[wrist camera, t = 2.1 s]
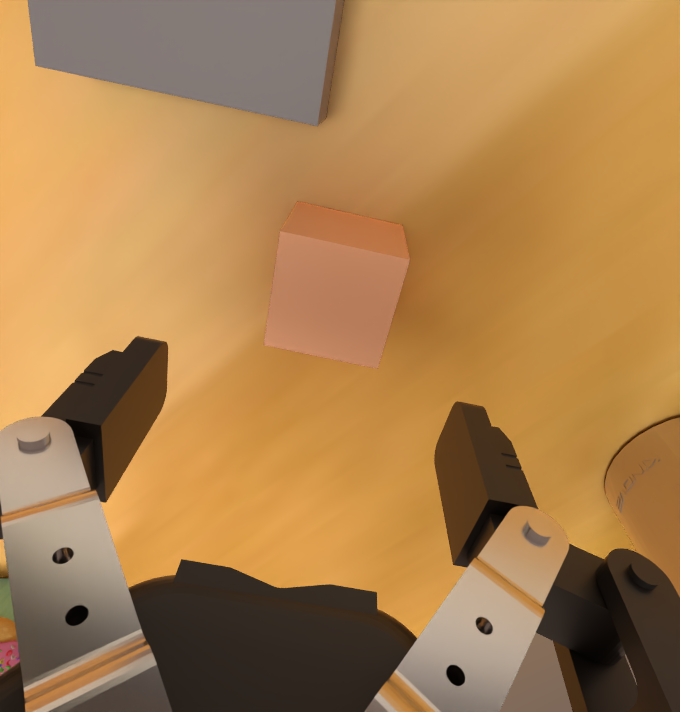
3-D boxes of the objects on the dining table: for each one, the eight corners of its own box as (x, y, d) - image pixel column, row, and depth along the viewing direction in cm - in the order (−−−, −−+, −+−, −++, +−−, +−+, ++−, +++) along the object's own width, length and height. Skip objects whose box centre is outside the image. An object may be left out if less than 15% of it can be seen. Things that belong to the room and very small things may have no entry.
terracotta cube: (402, 224, 22) (410, 259, 18) (376, 318, 25) (377, 368, 20) (297, 201, 22) (280, 230, 18) (282, 298, 25) (263, 345, 20)
